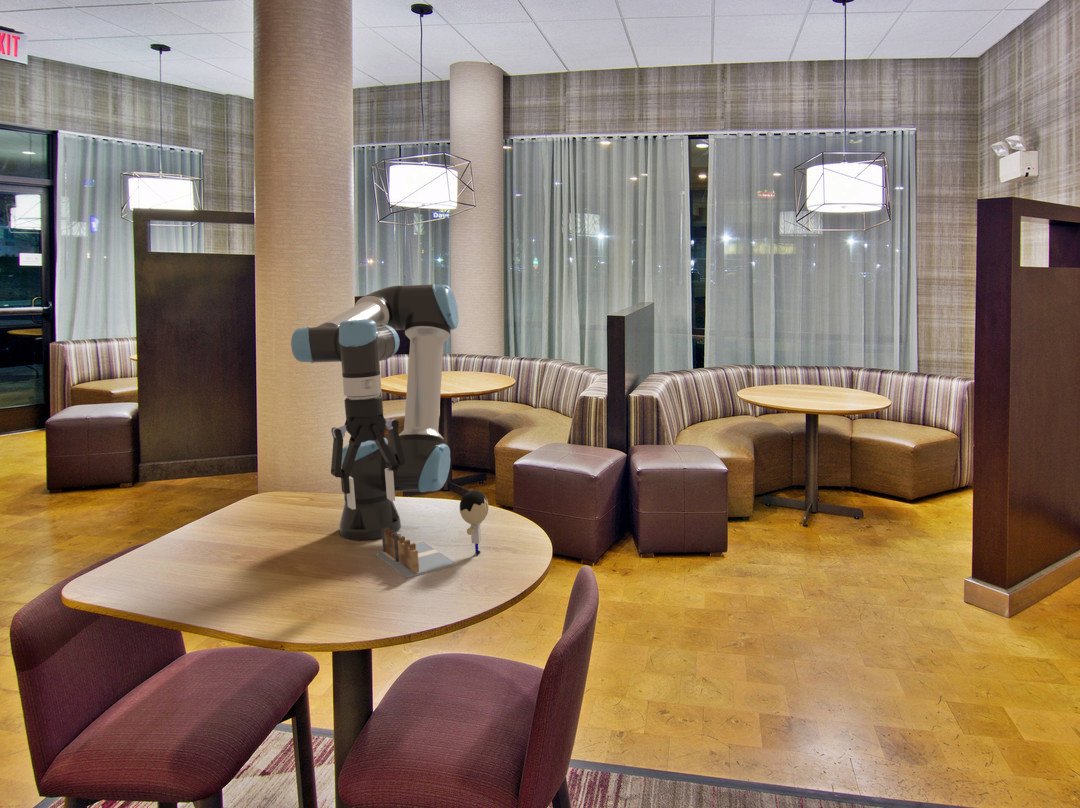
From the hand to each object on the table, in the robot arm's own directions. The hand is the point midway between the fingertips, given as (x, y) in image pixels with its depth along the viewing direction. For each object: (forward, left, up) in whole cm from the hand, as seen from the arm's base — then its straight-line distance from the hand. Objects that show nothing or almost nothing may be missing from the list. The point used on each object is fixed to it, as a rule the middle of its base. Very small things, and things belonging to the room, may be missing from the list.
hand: (371, 503), depth 160 cm
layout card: (-6, +11, -17) cm, 22 cm away
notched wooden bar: (-2, +8, -17) cm, 18 cm away
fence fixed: (-11, +8, -17) cm, 22 cm away
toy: (0, +24, -17) cm, 30 cm away
